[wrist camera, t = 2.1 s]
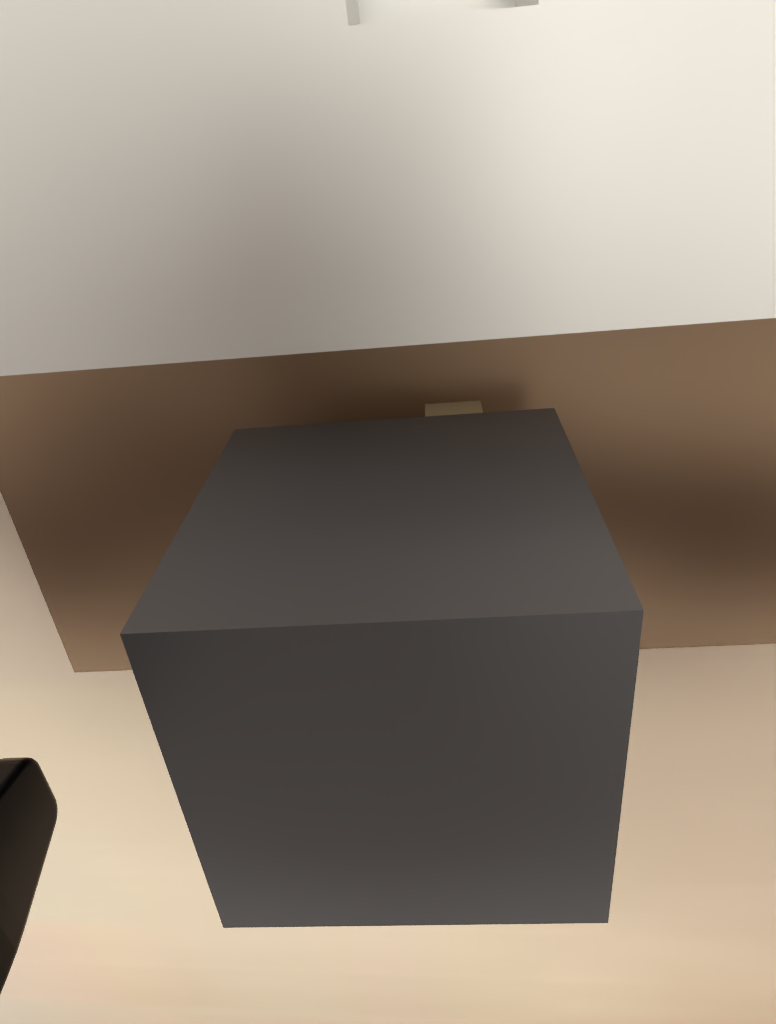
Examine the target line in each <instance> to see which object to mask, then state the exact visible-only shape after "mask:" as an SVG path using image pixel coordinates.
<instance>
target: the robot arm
mask: <svg viewBox="0 0 776 1024" xmlns="http://www.w3.org/2000/svg"><path fill="white" fill-rule="evenodd" d="M56 819H57V803H56V799H55V797H54V795H53V793H52V791H51V789H50V787H49V784H48V782H47V780H46V778H45V776H44V774H43V772H42V770H41V768H40V766H39V764H38V763H37V762H36V761H35V760H34V759H32V758H4V759H0V994H1V991H2V989H3V986H4V984H5V981H6V979H7V976H8V974H9V971H10V968H11V966H12V963H13V961H14V958H15V955H16V953H17V950H18V947H19V944H20V941H21V938H22V935H23V931H24V928H25V925H26V922H27V918H28V915H29V912H30V908H31V905H32V901H33V898H34V895H35V891H36V888H37V885H38V881H39V878H40V874H41V871H42V868H43V864H44V861H45V858H46V854H47V851H48V847H49V844H50V841H51V837H52V834H53V831H54V827H55V824H56Z"/></svg>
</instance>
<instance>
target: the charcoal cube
mask: <svg viewBox="0 0 776 1024" xmlns="http://www.w3.org/2000/svg"><path fill="white" fill-rule="evenodd" d="M643 612H644V610H643V608H642V605H641V603H640V601H639V598H638V596H637V594H636V592H635V589H634V587H633V585H632V583H631V580H630V578H629V576H628V574H627V571H626V569H625V567H624V564H623V562H622V560H621V558H620V555H619V553H618V551H617V549H616V546H615V544H614V542H613V540H612V537H611V535H610V533H609V531H608V528H607V526H606V524H605V521H604V519H603V517H602V515H601V512H600V510H599V508H598V506H597V503H596V501H595V499H594V497H593V494H592V492H591V490H590V488H589V485H588V483H587V481H586V478H585V476H584V474H583V472H582V469H581V467H580V465H579V463H578V460H577V458H576V456H575V454H574V451H573V449H572V447H571V444H570V442H569V440H568V438H567V435H566V433H565V431H564V429H563V426H562V424H561V422H560V420H559V417H558V415H557V413H556V411H555V408H544V409H530V410H515V411H500V412H485V413H483V409H482V405H481V400H477V401H463V402H448V403H434V404H425V417H411V418H396V419H381V420H366V421H351V422H336V423H322V424H307V425H292V426H277V427H262V428H247V429H235V430H234V432H233V433H232V435H231V437H230V439H229V441H228V442H227V444H226V446H225V448H224V449H223V451H222V453H221V455H220V457H219V458H218V460H217V462H216V464H215V466H214V467H213V469H212V471H211V473H210V474H209V476H208V478H207V480H206V482H205V483H204V485H203V487H202V489H201V490H200V492H199V494H198V496H197V498H196V499H195V501H194V503H193V505H192V506H191V508H190V510H189V512H188V514H187V515H186V517H185V519H184V521H183V523H182V524H181V526H180V528H179V530H178V531H177V533H176V535H175V537H174V539H173V540H172V542H171V544H170V546H169V547H168V549H167V551H166V553H165V555H164V556H163V558H162V560H161V562H160V563H159V565H158V567H157V569H156V571H155V572H154V574H153V576H152V578H151V579H150V581H149V583H148V585H147V587H146V588H145V590H144V592H143V594H142V596H141V597H140V599H139V601H138V603H137V604H136V606H135V608H134V610H133V612H132V613H131V615H130V617H129V619H128V620H127V622H126V624H125V626H124V628H123V629H122V631H121V633H120V636H121V639H122V642H123V644H124V647H125V650H126V653H127V656H128V659H129V661H130V664H131V667H132V670H133V673H134V675H135V678H136V681H137V684H138V687H139V690H140V692H141V695H142V698H143V701H144V704H145V707H146V709H147V712H148V715H149V718H150V721H151V724H152V726H153V729H154V732H155V735H156V738H157V741H158V743H159V746H160V749H161V752H162V755H163V758H164V760H165V763H166V766H167V769H168V772H169V775H170V777H171V780H172V783H173V786H174V789H175V792H176V794H177V797H178V800H179V803H180V806H181V809H182V811H183V814H184V817H185V820H186V823H187V826H188V828H189V831H190V834H191V837H192V840H193V843H194V845H195V848H196V851H197V854H198V857H199V860H200V862H201V865H202V868H203V871H204V874H205V876H206V879H207V882H208V885H209V888H210V891H211V893H212V896H213V899H214V902H215V905H216V908H217V910H218V913H219V916H220V919H221V922H222V925H223V927H224V928H234V927H314V926H394V925H473V924H553V923H608V917H609V908H610V900H611V891H612V882H613V874H614V865H615V856H616V848H617V839H618V830H619V821H620V813H621V804H622V795H623V787H624V778H625V769H626V760H627V752H628V743H629V734H630V726H631V717H632V708H633V699H634V691H635V682H636V673H637V665H638V656H639V647H640V638H641V630H642V621H643Z"/></svg>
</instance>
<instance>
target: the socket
mask: <svg viewBox="0 0 776 1024" xmlns="http://www.w3.org/2000/svg"><path fill="white" fill-rule="evenodd" d="M768 318H776V0H0V376H9V375H22V374H36V373H49V372H62V371H76V370H89V369H102V368H116V367H129V366H142V365H156V364H169V363H182V362H195V361H209V360H222V359H235V358H249V357H262V356H275V355H289V354H302V353H315V352H329V351H342V350H355V349H369V348H382V347H395V346H409V345H422V344H435V343H449V342H462V341H475V340H488V339H502V338H515V337H528V336H542V335H555V334H568V333H582V332H595V331H608V330H622V329H635V328H648V327H662V326H675V325H688V324H702V323H715V322H728V321H742V320H755V319H768Z"/></svg>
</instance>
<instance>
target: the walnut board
mask: <svg viewBox="0 0 776 1024" xmlns="http://www.w3.org/2000/svg"><path fill="white" fill-rule="evenodd" d="M477 400H481V405H482V409H483V413H485V412H500V411H515V410H530V409H544V408H555V411H556V413H557V415H558V417H559V420H560V422H561V424H562V426H563V429H564V431H565V433H566V435H567V438H568V440H569V442H570V444H571V447H572V449H573V451H574V454H575V456H576V458H577V460H578V463H579V465H580V467H581V469H582V472H583V474H584V476H585V478H586V481H587V483H588V485H589V488H590V490H591V492H592V494H593V497H594V499H595V501H596V503H597V506H598V508H599V510H600V512H601V515H602V517H603V519H604V521H605V524H606V526H607V528H608V531H609V533H610V535H611V537H612V540H613V542H614V544H615V546H616V549H617V551H618V553H619V555H620V558H621V560H622V562H623V564H624V567H625V569H626V571H627V574H628V576H629V578H630V580H631V583H632V585H633V587H634V589H635V592H636V594H637V596H638V598H639V601H640V603H641V605H642V608H643V610H644V612H643V621H642V630H641V638H640V647H639V649H650V648H674V647H699V646H723V645H747V644H771V643H776V318H768V319H755V320H742V321H728V322H715V323H702V324H688V325H675V326H662V327H648V328H635V329H622V330H608V331H595V332H582V333H568V334H555V335H542V336H528V337H515V338H502V339H488V340H475V341H462V342H449V343H435V344H422V345H409V346H395V347H382V348H369V349H355V350H342V351H329V352H315V353H302V354H289V355H275V356H262V357H249V358H235V359H222V360H209V361H195V362H182V363H169V364H156V365H142V366H129V367H116V368H102V369H89V370H76V371H62V372H49V373H36V374H22V375H9V376H0V491H1V493H2V496H3V498H4V500H5V503H6V505H7V508H8V510H9V513H10V515H11V518H12V520H13V523H14V525H15V527H16V530H17V532H18V535H19V537H20V540H21V542H22V545H23V547H24V549H25V552H26V554H27V557H28V559H29V562H30V564H31V567H32V569H33V572H34V574H35V576H36V579H37V581H38V584H39V586H40V589H41V591H42V594H43V596H44V599H45V601H46V603H47V606H48V608H49V611H50V613H51V616H52V618H53V621H54V623H55V625H56V628H57V630H58V633H59V635H60V638H61V640H62V643H63V645H64V648H65V650H66V652H67V655H68V657H69V660H70V662H71V665H72V667H73V670H74V672H93V671H118V670H132V667H131V664H130V661H129V659H128V656H127V653H126V650H125V647H124V644H123V642H122V639H121V636H120V633H121V631H122V629H123V628H124V626H125V624H126V622H127V620H128V619H129V617H130V615H131V613H132V612H133V610H134V608H135V606H136V604H137V603H138V601H139V599H140V597H141V596H142V594H143V592H144V590H145V588H146V587H147V585H148V583H149V581H150V579H151V578H152V576H153V574H154V572H155V571H156V569H157V567H158V565H159V563H160V562H161V560H162V558H163V556H164V555H165V553H166V551H167V549H168V547H169V546H170V544H171V542H172V540H173V539H174V537H175V535H176V533H177V531H178V530H179V528H180V526H181V524H182V523H183V521H184V519H185V517H186V515H187V514H188V512H189V510H190V508H191V506H192V505H193V503H194V501H195V499H196V498H197V496H198V494H199V492H200V490H201V489H202V487H203V485H204V483H205V482H206V480H207V478H208V476H209V474H210V473H211V471H212V469H213V467H214V466H215V464H216V462H217V460H218V458H219V457H220V455H221V453H222V451H223V449H224V448H225V446H226V444H227V442H228V441H229V439H230V437H231V435H232V433H233V432H234V430H235V429H247V428H262V427H277V426H292V425H307V424H322V423H336V422H351V421H366V420H381V419H396V418H411V417H425V404H434V403H448V402H463V401H477Z"/></svg>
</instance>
